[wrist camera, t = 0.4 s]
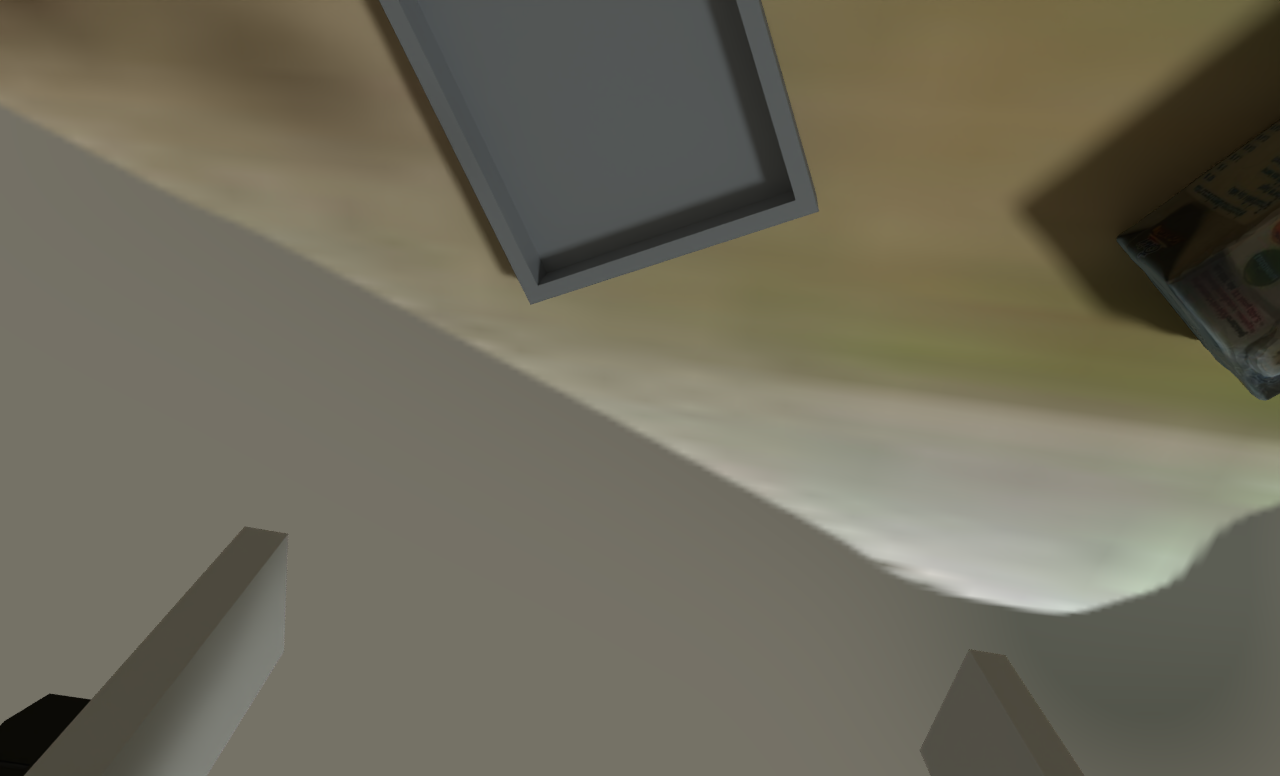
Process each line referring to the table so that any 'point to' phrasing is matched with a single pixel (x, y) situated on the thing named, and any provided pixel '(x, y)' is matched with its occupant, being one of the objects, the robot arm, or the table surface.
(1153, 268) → the beverage carton
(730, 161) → the grey square tray
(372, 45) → the table surface
